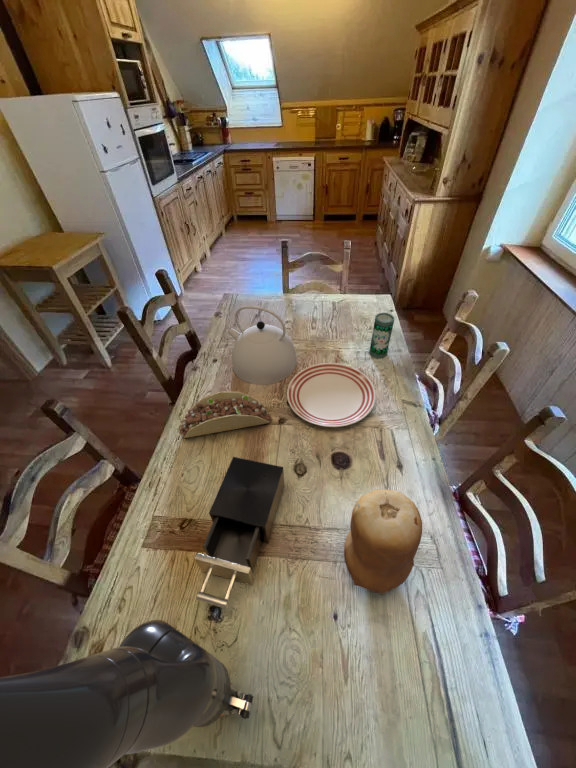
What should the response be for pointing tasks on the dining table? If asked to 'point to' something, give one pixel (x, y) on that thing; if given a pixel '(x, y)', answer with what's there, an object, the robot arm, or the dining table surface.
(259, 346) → the kettle
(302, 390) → the dinner plate
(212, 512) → the black rectangular box
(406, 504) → the butternut squash
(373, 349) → the can
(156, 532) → the dining table surface
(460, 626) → the dining table surface
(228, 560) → the wooden drawer
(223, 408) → the taco
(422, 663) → the dining table surface
